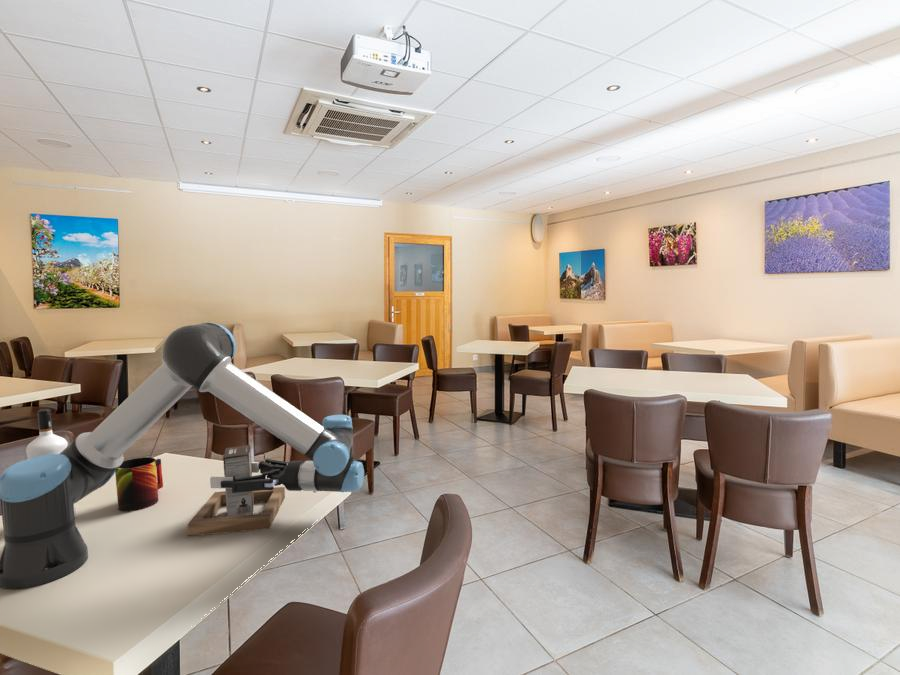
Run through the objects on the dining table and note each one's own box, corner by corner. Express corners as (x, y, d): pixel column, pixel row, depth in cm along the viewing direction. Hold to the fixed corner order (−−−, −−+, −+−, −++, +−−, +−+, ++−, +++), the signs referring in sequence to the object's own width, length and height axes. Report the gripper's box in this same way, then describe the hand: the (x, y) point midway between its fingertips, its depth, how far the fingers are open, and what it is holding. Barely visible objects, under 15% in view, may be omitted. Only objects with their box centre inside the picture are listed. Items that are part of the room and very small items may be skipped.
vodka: (49, 515, 133) (39, 406, 130) (84, 513, 133) (75, 405, 131) (21, 531, 123) (9, 414, 121) (59, 529, 124) (48, 413, 122)
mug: (163, 490, 149) (160, 451, 148) (155, 507, 136) (152, 465, 135) (126, 495, 145) (123, 456, 144) (114, 514, 133) (110, 471, 132)
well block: (269, 528, 122) (269, 517, 121) (188, 535, 119) (187, 523, 119) (285, 496, 141) (284, 486, 141) (215, 502, 139) (215, 492, 138)
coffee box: (228, 505, 133) (224, 447, 132) (254, 501, 135) (250, 444, 134) (226, 518, 125) (222, 457, 123) (253, 514, 127) (250, 453, 126)
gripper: (284, 508, 116) (197, 506, 119) (321, 473, 139) (248, 472, 141) (282, 478, 115) (195, 476, 118) (320, 448, 138) (246, 447, 141)
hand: (224, 474), depth 130 cm, fingers closed on coffee box, 11 cm apart
